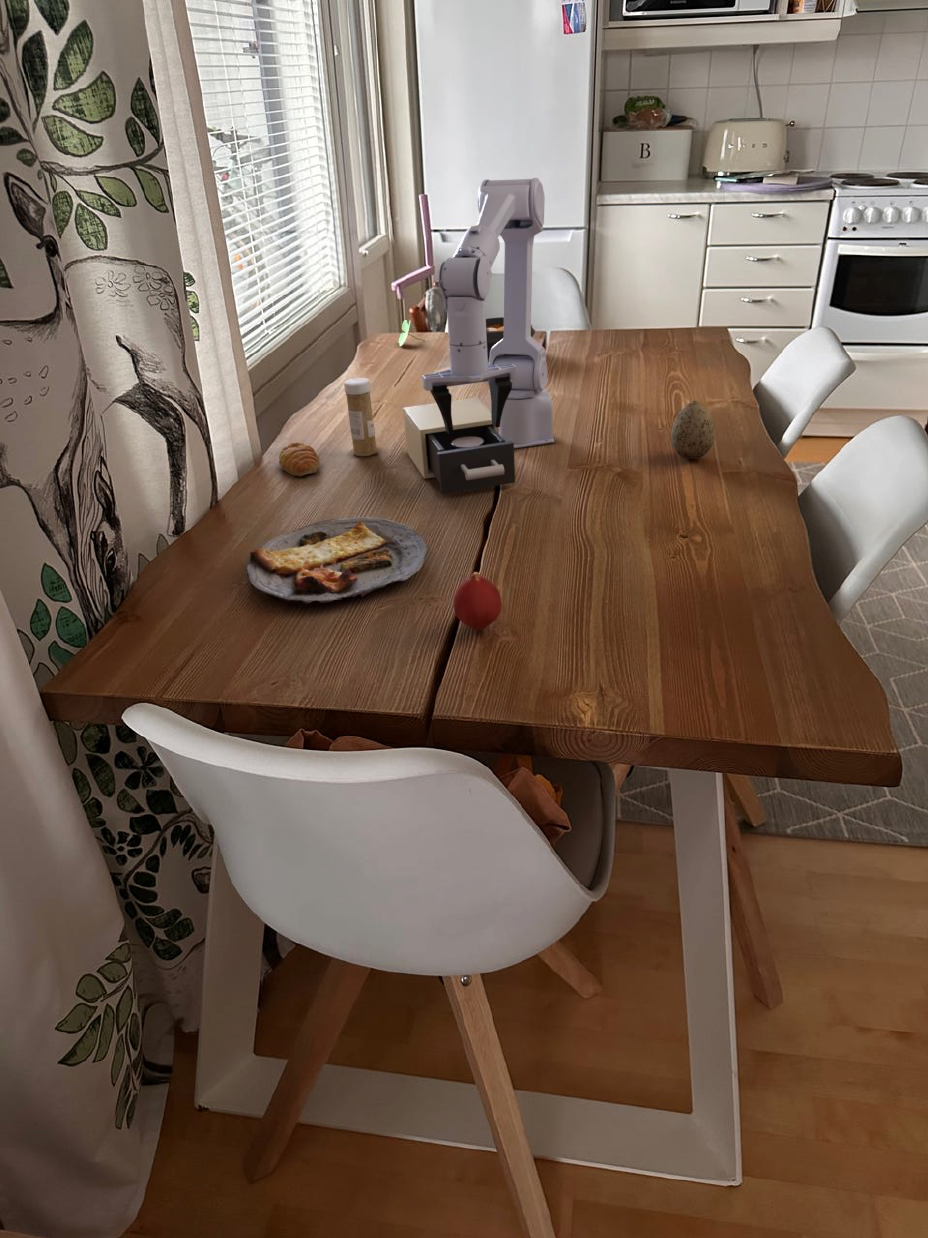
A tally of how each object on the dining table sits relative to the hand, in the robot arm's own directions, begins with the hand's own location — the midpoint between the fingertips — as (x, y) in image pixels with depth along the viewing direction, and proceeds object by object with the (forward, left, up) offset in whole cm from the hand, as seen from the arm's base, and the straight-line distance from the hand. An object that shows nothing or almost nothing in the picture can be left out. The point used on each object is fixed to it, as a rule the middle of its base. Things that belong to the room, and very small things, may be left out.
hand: (472, 428), depth 146 cm
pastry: (+26, -23, -11) cm, 36 cm away
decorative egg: (-38, +1, -11) cm, 40 cm away
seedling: (-16, -104, -10) cm, 105 cm away
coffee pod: (0, -4, -9) cm, 9 cm away
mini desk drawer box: (0, -16, -11) cm, 19 cm away
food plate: (+26, +20, -11) cm, 34 cm away
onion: (+12, +43, -11) cm, 46 cm away
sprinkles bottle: (+14, -26, -11) cm, 31 cm away
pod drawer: (0, -2, -10) cm, 10 cm away
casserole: (-28, -77, -11) cm, 83 cm away
